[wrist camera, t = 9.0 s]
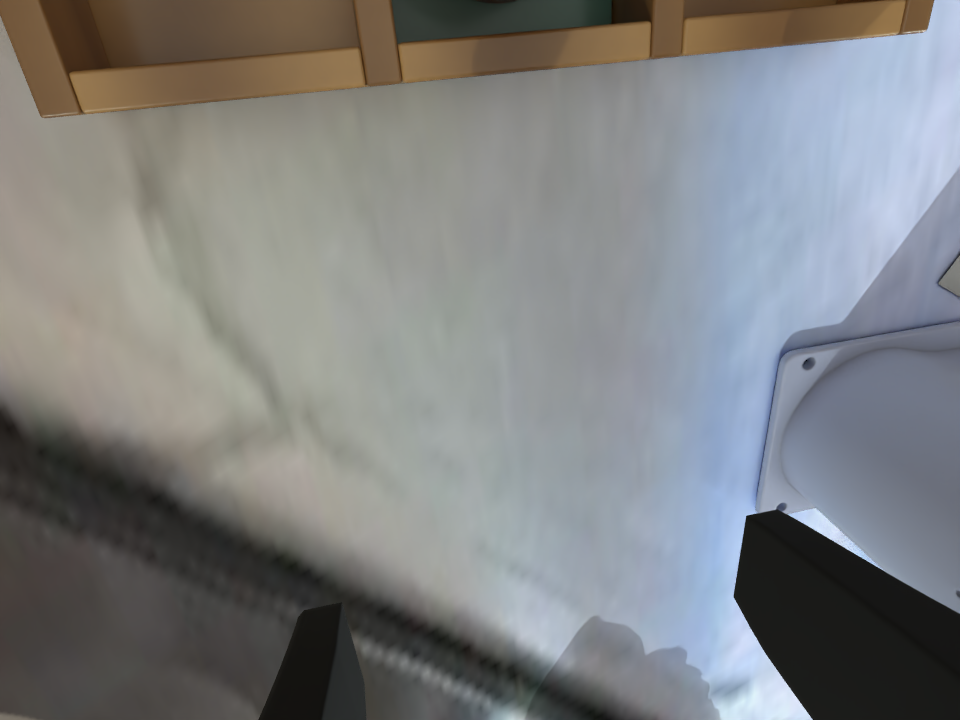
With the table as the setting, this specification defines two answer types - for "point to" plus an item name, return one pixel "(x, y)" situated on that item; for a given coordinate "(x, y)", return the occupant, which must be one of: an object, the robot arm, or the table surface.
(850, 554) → the robot arm
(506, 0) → the spice bottle
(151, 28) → the spice tray
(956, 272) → the skate ramp
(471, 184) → the table surface
